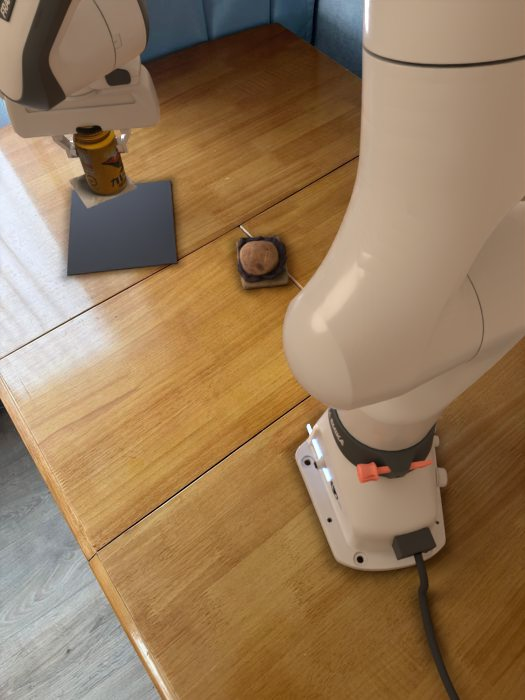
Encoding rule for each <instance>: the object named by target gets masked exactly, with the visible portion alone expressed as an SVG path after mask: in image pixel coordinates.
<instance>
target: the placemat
mask: <svg viewBox="0 0 525 700" xmlns="http://www.w3.org/2000/svg"><path fill="white" fill-rule="evenodd" d="M134 184H135V186H136V187H137V188H135V189H134V190H131V191H129V192H127V193H124V194H122V195H119V196H117V197H115V198H112V199H109V200H106V201H104V202H102V203H99V204H97V205H95V206H92V207H90V208H88V209H87V207H86V206H85V204H84V203H83V201H82V200H81V198H80V197H79V195H78V194H77V192H76V191H75V189H71V194H70V195H71V196H70V213H69V214H70V215H69V229H68V230H69V231H68V232H69V233H68V246H67V247H68V249H67V265H66V276H77V275H86V274H94V273H95V274H96V273H104V272H112V271H120V270H130V269H139V268H147V267H148V268H149V267H156V266H157V267H158V266H167V265H176V264H178V257H177V246H176V245H177V244H176V234H175V233H176V231H175V220H174V219H175V218H174V208H173V195H172V182H171V180H170V179H167V180H157V181H147V182H140V183H139V182H138V183H137V182H136V183H134Z"/></svg>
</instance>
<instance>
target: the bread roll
mask: <svg viewBox="0 0 525 700" xmlns="http://www.w3.org/2000/svg"><path fill="white" fill-rule="evenodd" d="M235 246H236V259H237V272H238V274H239V278H240V281H241V285H242V288H243V289H244V290H249V289H257V288H264V287H277V286H284V285H285V286H286V285H289V281H290V280H289V279H290V278H289V270H288V263H287V260H288V256H287V247H286V245H285V243H284V242H281V239H280V237H279V236H277V235H276V234H275V235H273V236H266V237H265V236H262V235H259V236H254V237H253V236H250V237H249V236H248V237H240V238H239V239H238V240H237V241H236V244H235Z"/></svg>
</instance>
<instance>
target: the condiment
mask: <svg viewBox="0 0 525 700" xmlns="http://www.w3.org/2000/svg"><path fill="white" fill-rule="evenodd" d="M76 132H77V134H72V141H74V145H75V147H76V150H77V153H78V156H79V157H78V159H79V161H80V164H81V167H82V171H83V172H84V174H81V175H79V176H75V177H73V178H71V179H68V182H69V183H70V185H71V187H72V188H73V190H75V191H76V192H77V194H78V195H79V197H80V198H81V200H82V201H83V203H84V204H85V206H86V207H87V209H88V208H90V207H92V206H95V205H97V204H99V203H102V202H104V201H106V200H109V199H112V198H115V197H117V196H119V195H122V194H124V193H127V192H129V191H131V190H134V189H135V188H137V187H136V186H135V184H136V183H134V182H133V180H132V179H131V178H130V176H129V175H128V174H127V173H126V171H125V165H124V162H123V159H122V155H121V154H122V153H118V149H117V147H116V142H117V141H116V137H117V135H116V133H115V130H111V131H103V130H102V128H101V126H98V125H94V126H86V127H77V128H76Z"/></svg>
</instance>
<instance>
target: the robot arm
mask: <svg viewBox="0 0 525 700" xmlns="http://www.w3.org/2000/svg"><path fill="white" fill-rule="evenodd" d="M361 31H362V35H361V38H362V40H361V41H362V43H361V44H362V45H361V46H362V49H361V51H362V53H361V57H362V58H361V60H362V63H361V64H362V65H361V75H362V76H361V111H360V112H361V113H360V133H359V134H360V136H359V151H358V152H359V153H358V154H359V155H358V163H357V171H356V176H355V181H354V185H353V189H352V193H351V196H350V199H349V202H348V205H347V207H346V210H345V213H344V216H343V219H342V221H341V223H340V226H339V227H338V228H339V229H338V231H337V233H336V235H335V237H334V240H333V241H332V243H331V246H330V248H329V249H328V251H327V253H326V255H325V257H324V258H323V260H322V262H321V264H320V265H319V266H318V267H317V268H316V269H317V270H316V271H315V272H314V274H313V275H312V276H311V278H310V279H309V280H308V281H307V283H306V284H305V285H304V286H303V288H301V290H300V291H299V292H298V293H297V294H296V295H295V296H294V298H292V299H291V300H290V302H289V303H288V306H287V308H286V311H285V315H284V320H283V321H282V323H283V325H282V332H281V334H282V349H283V353H284V357H285V361H286V363H287V366H288V369H289V370H290V372H291V374H292V375H293V377H294V379H295V380H296V383H298V384H299V385H300V387H301V388H302V389H303V390H304V391H305V392H306V393H307V394H308V395H309V396H311V397H312V398H313V399H314V400H316V401H318V402H319V403H320V404H322V405H325V406H326V407H327V409H326V410H325V411H324V413H323V414H322V415H321V416H320V418H319V419H318V420H317V421H316V422H315V424H314V425H313V427H311V425H310V423H308V424H307V425H306V428H307V432H308V433H309V436H308V438H306V440H304V441H303V442H302V443H301V444H300V445H299V446H298V447H297V449H296V451H295V453H294V459H295V463H296V465H297V467H298V470H299V473H300V475H301V477H302V480H303V482H304V485H305V487H306V488H305V489H306V490H307V492H308V495H309V498H310V501H311V503H312V506H313V508H314V510H315V513H316V515H317V518H318V520H319V522H320V525H321V528H322V531H323V533H324V535H325V538H326V540H327V543H328V545H329V548H330V551H331V554H332V556H333V557H334V559H335V561H336V562H337V563H338V564H340V565H343V566H345V567H347V568H349V569H354V570H357V571H363V572H385V571H395V570H399V569H404V568H405V569H406V568H409V567H413V566H416V569H417V573H418V578H419V585H418V588H417V593H418V601H419V602H418V603H419V607H420V613H421V619H422V623H423V628H424V631H425V635H426V640H427V642H428V646H429V649H430V653H431V655H432V658H433V661H434V664H435V667H436V669H437V673H438V675H439V678H440V680H441V683H442V684H443V687H444V689H445V692H446V694H447V696H448V697H449V700H461V698H460V697H459V695H458V693H457V691H456V689H455V687H454V684H453V682H452V680H451V677H450V675H449V672H448V670H447V668H446V664H445V662H444V659H443V657H442V654H441V650H440V647H439V644H438V641H437V637H436V634H435V631H434V627H433V624H432V618H431V612H430V607H429V602H428V594H427V593H428V590H429V588H430V584H429V583H430V582H429V576H428V571H427V567H426V564H425V562H426V561H427V560H429V559H431V558H433V557H434V556H435V555H437V554H438V552H440V551H441V550H442V548H443V547H444V546H445V544H446V542H447V541H446V530H445V521H444V512H443V505H442V496H441V489H440V488H445V487H447V485H448V472H447V470H446V469H445V467H438V464H437V455H436V448H437V447H439V445H440V438H439V436H438V435H435V434H436V433H437V426H438V420H439V418H440V417H441V416H442V414H443V413H444V412H445V410H446V409H447V408H448V407H449V406H450V405H451V404H452V403H453V402H454V401H455V400H456V399H457V398H459V396H461V395H462V394H463V393H464V392H465V391H467V390H468V389H469V388H470V387H471V386H473V385H474V384H475V383H476V382H477V381H478V380H479V379H481V377H483V376H484V375H485V374H486V373H487V372H488V371H489V370H490V369H492V368H493V367H494V366H495V365H496V364H497V363H498V362H499V361H500V360H501V359H502V358H503V357H504V356H506V355H507V354H508V353H509V352H510V351H511V350H513V348H514V347H515V346H516V345H517V344H518V343H519V342H520V341H521V340H522V339H523V338H524V337H525V200H523V199H524V197H525V0H362V30H361ZM149 38H150V17H149V11H148V7H147V2H146V0H0V99H1V100H2V101H4V105H5V109H6V113H7V117H8V120H9V122H10V125H11V127H12V130H13V132H14V134H16V135H17V136H19V137H20V138H22V139H35V138H45V137H46V138H47V137H51V138H52V141H53V142H54V143H55V145H57V146H59V147H60V148H61V149H63V150H65V153H66V155H67V158H68V159H77V158H78V159H79V156H78V153H77V150H76V147H75V145H74V141H73V140H72V141H71V140H70V139H68V138H67V137H66V136H67V135H73V134H77V132H76V128H77V127H86V126H94V125H98V126H101V128H102V130H103V131H111V130H114V131H119V132H120V135H121V136H116V141H117V142H116V147H117V149H118V153H120V154H128V153H129V144H128V143H129V139H130V136H131V135H132V129H133V130H134V129H143V128H144V129H145V128H153V127H156V126H158V124H159V123H160V121H161V108H160V103H159V98H158V94H157V90H156V88H155V87H156V86H155V85H154V82H153V79H152V76H151V74H150V72H149V70H148V69H147V68H146V67H145V65H144V64H142V60H141V54H143V53H144V52H145V51H146V49H147V46H148V44H149ZM305 462H309V463H310V464H309V465H307V464H306V463H305ZM329 520H330V522H329ZM358 558H361V559H362V562H358Z"/></svg>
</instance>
